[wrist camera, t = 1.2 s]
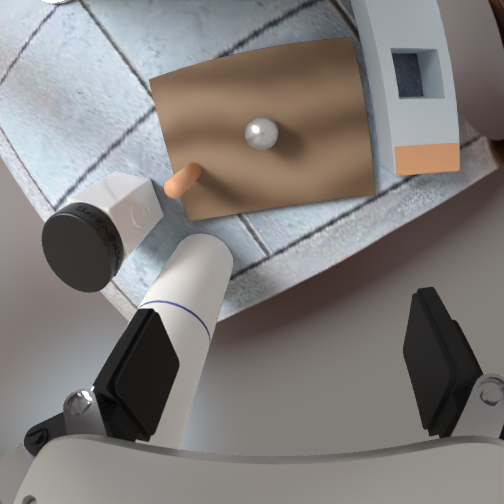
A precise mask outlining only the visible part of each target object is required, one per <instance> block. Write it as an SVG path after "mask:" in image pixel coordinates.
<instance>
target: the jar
mask: <svg viewBox="0 0 504 504" xmlns="http://www.w3.org/2000/svg"><path fill="white" fill-rule="evenodd" d="M163 216H164V214H163V211H162V209H161V206H160V204H159V201H158V198H157V196H156V193H155V190H154V188H153V185H152V182H151V180H150V179H148V178H144V177H140V176H136V175H132V174H127V173H123V172H119V171H115V172H113V173H112V174H110V175H108V176H106V177H105V178H103V179H101V180H99V181H98V182H96V183H94V184H93V185H91V186H89V187H88V188H86V189H84V190H83V191H81V192H79V193H78V194H76V195H75V196H73V197H71V198H70V199H69V201H68V202H67V204H66V206H65V207H64V208H62V209H61V210H59V211H58V212H57V213H55V214H54V215H52V216H51V217H50V218H49V219H48V220H47V221H46V223H45V225H44V228H43V232H42V246H43V251H44V254H45V257H46V259H47V262H48V263H49V265H50V267H51V268H52V270H53V271H54V272H55V274H56V275H57V276H58V277H59V278H60V279H61V280H62V281H63V282H64V283H66V284H67V285H69V286H70V287H72V288H74V289H76V290H79V291H82V292H97V291H100V290H101V289H103V288H104V287H105V286H106V285H107V284H108V283H109V282H110V281H111V279H112V278H113V277H114V276H116V274H117V273H118V271H119V269H120V267H121V266H122V265H123V263H124V262H125V261H126V260H127V259H128V257H129V256H130V255H131V254H132V253H133V251H134V250H135V249H136V248H137V247H138V246H139V244H140V243H141V242H142V241H143V240H144V239H145V237H146V236H147V235H148V234H149V233H150V232H151V230H152V229H153V228H154V227H155V226H156V224H157V223H158V222H159V221H160V220H161V219H162V218H163Z"/></svg>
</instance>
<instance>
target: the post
mask: <svg viewBox="0 0 504 504" xmlns="http://www.w3.org/2000/svg"><path fill="white" fill-rule="evenodd" d="M278 133H279V128H278V125H277V123H276V122H275V121H274V120H273V119H272V118H270V117H267V116H260V117H257V118H255V119H254V120H253V121H251V122H250V123H249V124H248V126H247V127H246V130H245V138H246V140H247V142H248V144H249V145H250V146H251V147H253V148H255V149H258V150H265V149H268V148H270V147H272V146H273V145H274V144H275V142H276V140H277V137H278Z"/></svg>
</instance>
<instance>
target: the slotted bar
mask: <svg viewBox="0 0 504 504" xmlns="http://www.w3.org/2000/svg"><path fill="white" fill-rule="evenodd" d="M350 2H351V5H352V9H353V13H354V17H355V20H356V24H357V28H358V33H359V37H360V41H361V46H362V50H363V55H364V60H365V65H366V70H367V75H368V81H369V86H370V92H371V98H372V105H373V111H374V118H375V126H376V134H377V143H378V152H379V162H380V164H381V165H383V166H384V167H385V168H386V169H387V170H388V171H390V172H391V173H392V174H393V175H394V176H403V175H414V174H425V173H438V172H451V171H459V170H460V145H459V127H458V114H457V103H456V95H455V87H454V80H453V73H452V67H451V61H450V55H449V50H448V45H447V40H446V36H445V32H444V27H443V23H442V19H441V16H440V11H439V7H438V4H437V1H436V0H350ZM392 54H417V59H418V64H419V70H420V76H421V82H422V89H423V96H419V97H399V93H398V87H397V81H396V75H395V69H394V64H393V59H392Z"/></svg>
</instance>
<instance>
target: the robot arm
mask: <svg viewBox="0 0 504 504" xmlns="http://www.w3.org/2000/svg"><path fill="white" fill-rule="evenodd" d="M41 1H43V2H45V3H49V4H61V3H65V2H68V1H70V0H41ZM403 355H404V359H405V362H406V365H407V369H408V372H409V376H410V379H411V383H412V386H413V390H414V393H415V397H416V401H417V405H418V409H419V413H420V417H421V421H422V425H423V428H424V429H428V432H429V436H434V435H438V434H439V437H440V439H435V440H430V441H423V442H419V443H413V444H408V445H402V446H396V447H389V448H382V449H376V450H368V451H359V452H351V453H339V454H327V455H309V456H246V455H228V454H215V453H204V452H195V451H186V450H179V449H172V448H165V447H159V446H153V445H147V444H142V443H136V442H135V441H136V439H137V440H140V441H145V442H149V440H150V438H151V436H153V435H154V434H155V433H156V430H157V427H158V424H159V422H160V419H161V416H162V413H163V411H164V408H165V405H166V402H167V400H168V397H169V394H170V392H171V389H172V386H173V384H174V381H175V378H176V375H177V373H178V370H179V367H180V362H179V358H178V356H177V354H176V352H175V350H174V347H173V345H172V343H171V341H170V338H169V336H168V334H167V331H166V329H165V327H164V324H163V322H162V320H161V317H160V315H159V313H158V312H155V310H154V309H152V308H140V309H138V310H137V311H136V313H135V314H134V316H133V318H132V319H131V321H130V322H129V324H128V326H127V327H126V329H125V331H124V332H123V334H122V336H121V337H120V339H119V341H118V342H117V344H116V346H115V347H114V349H113V351H112V353H111V354H110V356H109V357H108V359H107V361H106V363H105V364H104V366H103V368H102V370H101V371H100V373H99V375H98V377H97V378H96V380H95V382H94V384H93V386H94V389H93V391H91V390H89V389H86V388H82V389H78V390H75V391H74V392H72V393H71V394H70V395H69V396H68V397H67V398H66V400H65V402H64V404H63V412H62V413H60V414H58V415H56V416H54V417H52V418H50V419H48V420H45V421H43V422H41V423H39V424H37V425H35V426H33V427H32V428H30V430H29V431H28V432H27V434H26V435H25V439H24V445H22V444H19V445H18V446H17V447H16V448H15V449H13V450H12V451H11V452H10V453H8V454H7V455H6V456H5V457H4V458H2V459H1V460H0V500H1V502H2V504H504V377H503V376H501V375H499V374H494V373H489V374H485V375H483V372H482V370H481V368H480V366H479V364H478V362H477V360H476V357H475V355H474V353H473V351H472V349H471V347H470V345H469V343H468V341H467V339H466V337H465V335H464V333H463V332H462V330H461V328H460V326H459V324H458V323H457V321H455V320H452V319H451V317H450V315H449V313H448V312H447V310H446V308H445V306H444V304H443V302H442V301H441V299H440V297H439V295H438V294H437V292H436V290H435V289H434V287H427V288H420V289H418V290H417V293H414V294H413V296H412V302H411V308H410V314H409V320H408V325H407V331H406V336H405V341H404V346H403Z"/></svg>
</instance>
